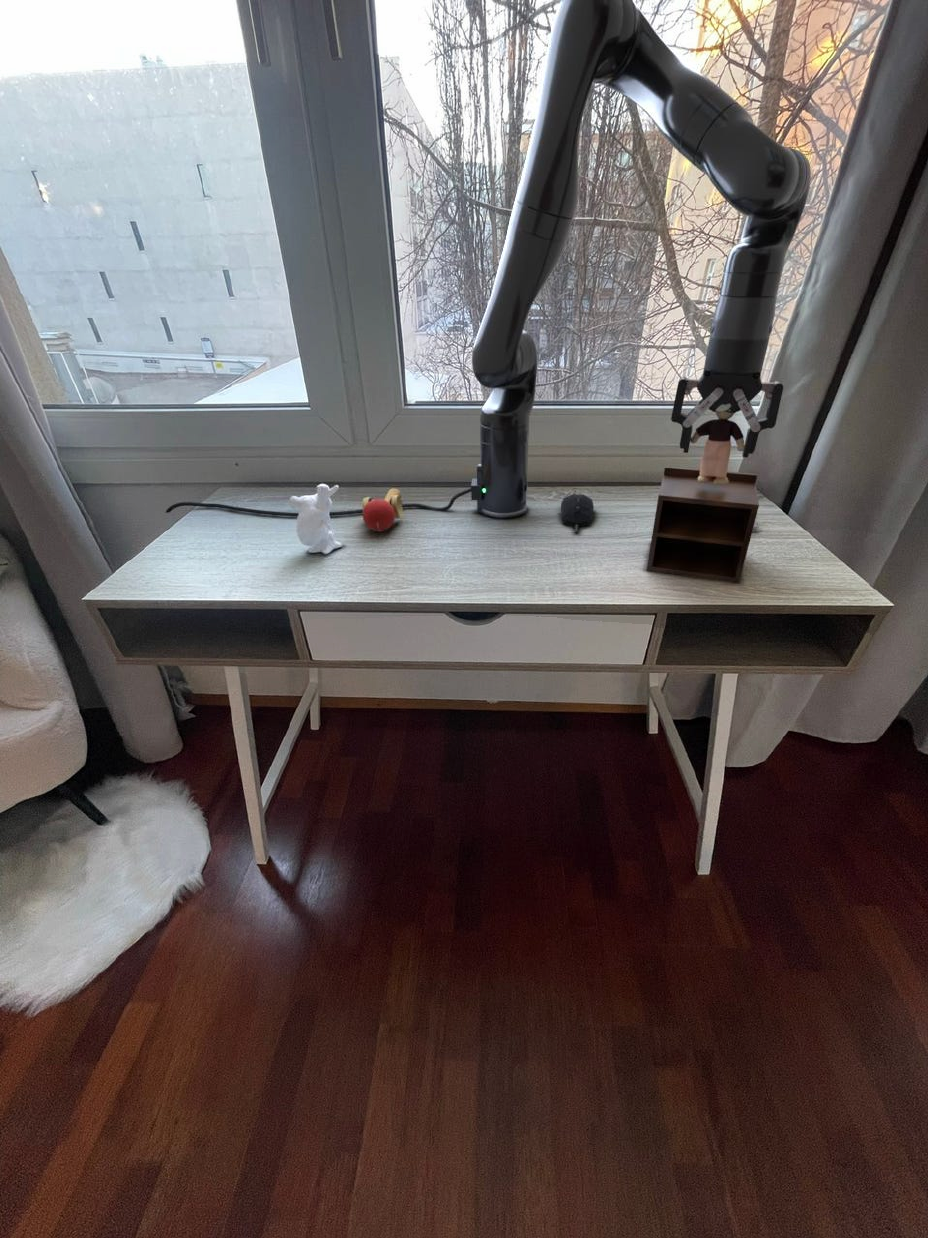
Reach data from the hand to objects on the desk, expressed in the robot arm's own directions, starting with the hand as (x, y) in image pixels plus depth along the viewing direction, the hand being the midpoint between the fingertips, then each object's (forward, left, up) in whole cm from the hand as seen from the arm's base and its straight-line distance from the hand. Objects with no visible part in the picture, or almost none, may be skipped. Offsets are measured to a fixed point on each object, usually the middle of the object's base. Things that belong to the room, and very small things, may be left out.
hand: (714, 453), depth 88 cm
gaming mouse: (-22, +13, -18) cm, 32 cm away
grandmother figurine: (0, 0, -4) cm, 4 cm away
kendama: (-58, +2, -18) cm, 61 cm away
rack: (0, 0, -18) cm, 18 cm away
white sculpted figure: (-62, -15, -18) cm, 66 cm away
